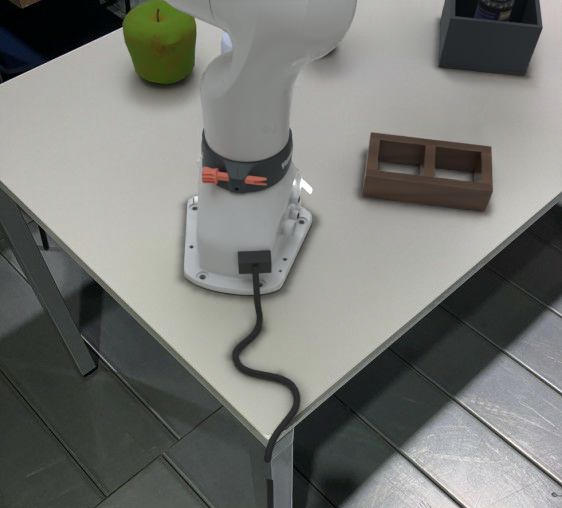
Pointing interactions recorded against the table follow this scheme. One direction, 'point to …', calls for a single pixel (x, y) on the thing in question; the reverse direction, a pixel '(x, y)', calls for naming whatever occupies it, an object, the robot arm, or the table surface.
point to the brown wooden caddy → (429, 172)
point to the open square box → (489, 38)
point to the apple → (160, 41)
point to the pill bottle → (494, 10)
